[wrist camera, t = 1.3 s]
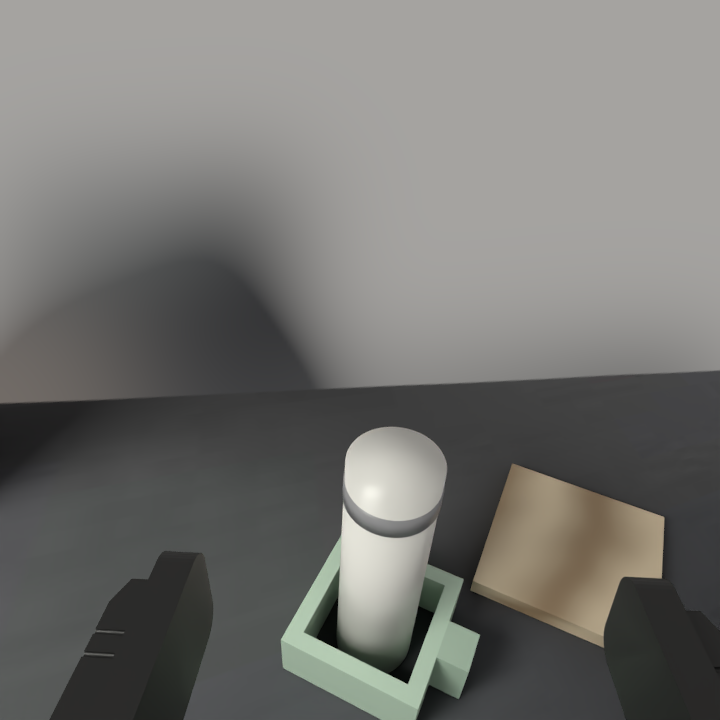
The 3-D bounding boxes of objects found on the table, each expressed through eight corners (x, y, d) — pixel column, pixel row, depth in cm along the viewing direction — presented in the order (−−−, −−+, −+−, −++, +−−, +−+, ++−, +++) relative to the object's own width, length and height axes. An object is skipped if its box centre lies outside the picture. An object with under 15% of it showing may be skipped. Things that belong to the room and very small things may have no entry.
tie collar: (283, 667, 30) (280, 639, 28) (343, 558, 35) (345, 528, 33) (442, 752, 27) (452, 727, 25) (482, 620, 32) (492, 591, 30)
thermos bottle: (322, 654, 30) (325, 480, 22) (355, 589, 33) (369, 414, 25) (394, 690, 29) (428, 521, 21) (421, 620, 32) (461, 446, 23)
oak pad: (470, 590, 34) (472, 581, 33) (509, 472, 41) (512, 463, 40) (651, 668, 31) (658, 659, 30) (658, 526, 38) (664, 517, 37)
